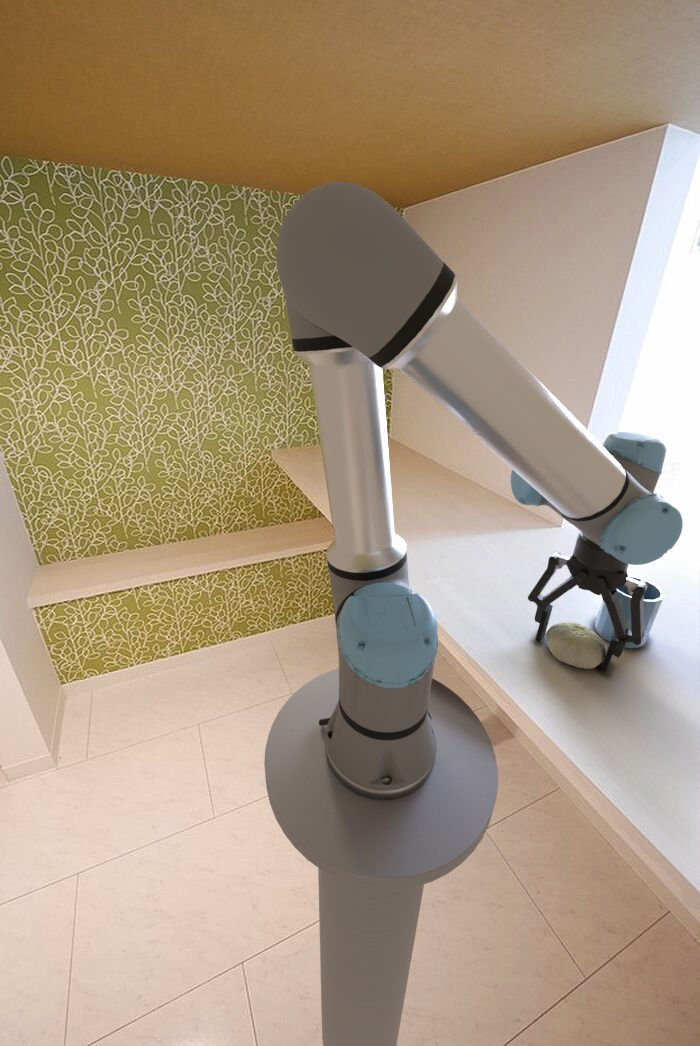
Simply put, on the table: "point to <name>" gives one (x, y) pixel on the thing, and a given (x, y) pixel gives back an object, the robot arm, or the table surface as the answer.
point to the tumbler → (651, 607)
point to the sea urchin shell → (575, 645)
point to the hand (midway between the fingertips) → (571, 651)
